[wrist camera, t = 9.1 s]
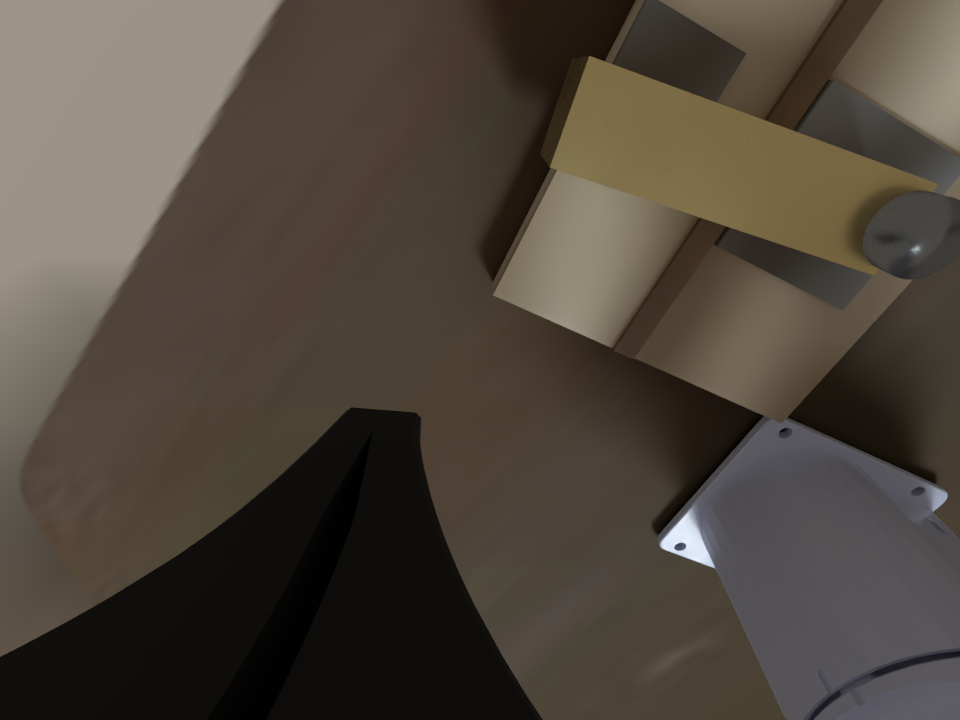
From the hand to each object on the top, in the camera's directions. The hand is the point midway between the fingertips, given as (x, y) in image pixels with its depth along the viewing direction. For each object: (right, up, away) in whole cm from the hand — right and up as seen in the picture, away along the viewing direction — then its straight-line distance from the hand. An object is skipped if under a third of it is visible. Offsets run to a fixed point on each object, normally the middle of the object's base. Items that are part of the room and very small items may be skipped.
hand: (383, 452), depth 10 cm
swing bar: (+9, +7, +5) cm, 12 cm away
